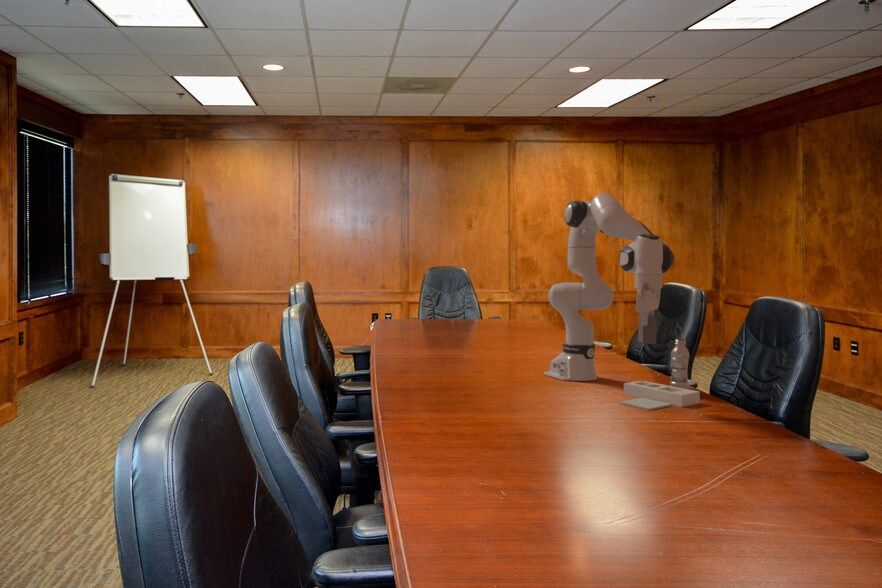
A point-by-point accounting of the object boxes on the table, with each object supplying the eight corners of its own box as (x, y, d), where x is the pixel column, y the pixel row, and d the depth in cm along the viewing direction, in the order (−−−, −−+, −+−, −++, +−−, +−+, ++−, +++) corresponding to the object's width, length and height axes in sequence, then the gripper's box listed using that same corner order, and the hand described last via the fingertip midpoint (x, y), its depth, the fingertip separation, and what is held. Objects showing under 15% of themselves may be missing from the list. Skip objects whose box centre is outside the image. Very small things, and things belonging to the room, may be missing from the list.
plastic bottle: (685, 392, 242) (687, 338, 241) (690, 396, 236) (692, 340, 235) (667, 392, 243) (668, 338, 242) (672, 396, 236) (673, 340, 235)
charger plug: (638, 341, 224) (638, 315, 223) (651, 341, 224) (651, 315, 223) (642, 343, 219) (643, 316, 218) (656, 343, 219) (656, 316, 218)
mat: (619, 403, 224) (619, 401, 224) (642, 399, 231) (642, 397, 231) (648, 410, 214) (648, 408, 214) (671, 405, 221) (671, 404, 221)
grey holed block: (623, 394, 239) (623, 382, 238) (641, 391, 244) (641, 379, 244) (681, 407, 219) (681, 394, 219) (699, 403, 225) (699, 390, 224)
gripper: (652, 284, 209) (651, 327, 210) (663, 282, 227) (662, 322, 228) (631, 283, 212) (630, 326, 213) (644, 281, 230) (643, 321, 231)
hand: (647, 324), depth 221 cm, fingers closed on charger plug, 6 cm apart
